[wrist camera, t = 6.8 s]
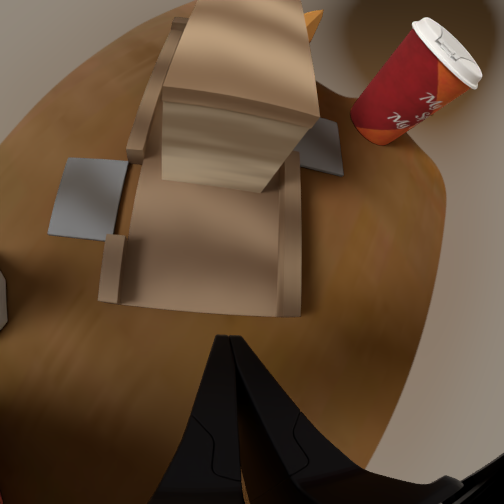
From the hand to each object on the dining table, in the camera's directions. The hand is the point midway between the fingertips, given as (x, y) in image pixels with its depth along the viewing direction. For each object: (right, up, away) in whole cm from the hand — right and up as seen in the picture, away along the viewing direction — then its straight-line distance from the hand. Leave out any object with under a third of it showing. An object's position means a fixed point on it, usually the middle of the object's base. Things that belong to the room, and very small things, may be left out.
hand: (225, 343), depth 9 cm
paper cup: (+14, +17, +18) cm, 28 cm away
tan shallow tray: (-2, +12, +12) cm, 17 cm away
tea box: (-2, +14, +12) cm, 18 cm away
